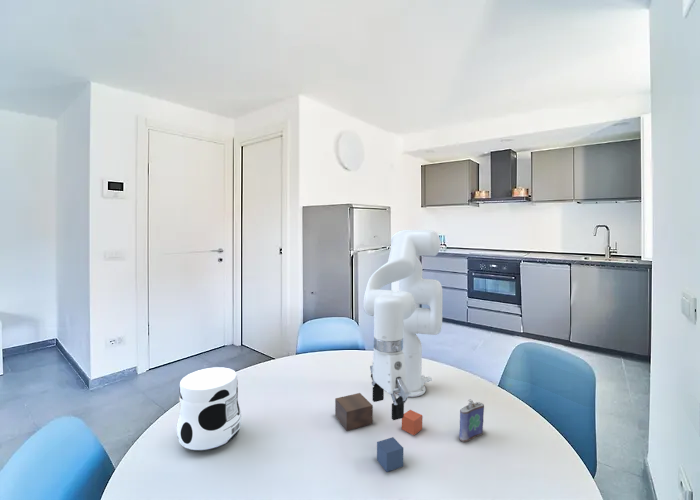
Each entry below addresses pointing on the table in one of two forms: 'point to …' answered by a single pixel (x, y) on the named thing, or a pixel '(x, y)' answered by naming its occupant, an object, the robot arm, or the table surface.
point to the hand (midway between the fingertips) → (387, 409)
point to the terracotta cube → (412, 422)
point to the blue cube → (390, 454)
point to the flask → (471, 421)
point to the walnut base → (353, 411)
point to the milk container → (208, 409)
